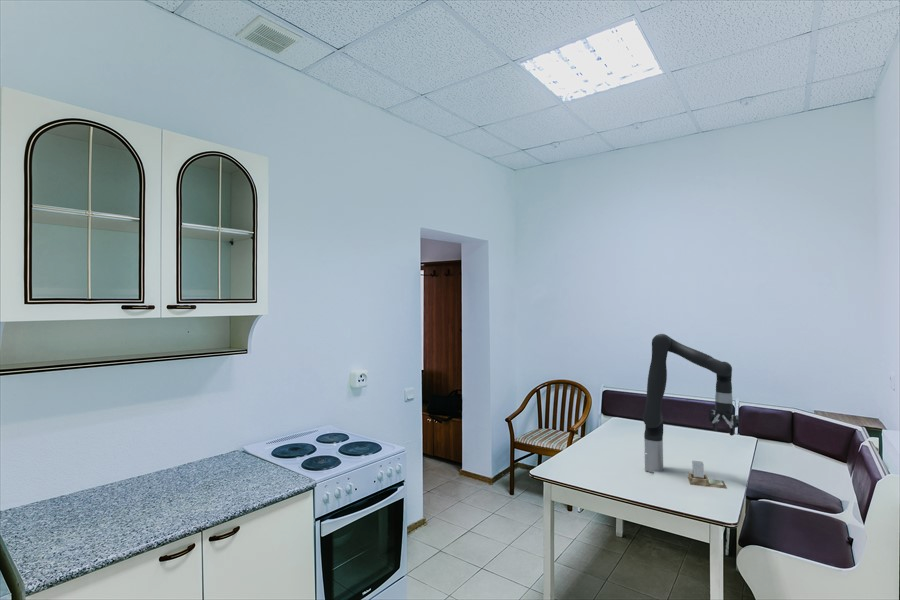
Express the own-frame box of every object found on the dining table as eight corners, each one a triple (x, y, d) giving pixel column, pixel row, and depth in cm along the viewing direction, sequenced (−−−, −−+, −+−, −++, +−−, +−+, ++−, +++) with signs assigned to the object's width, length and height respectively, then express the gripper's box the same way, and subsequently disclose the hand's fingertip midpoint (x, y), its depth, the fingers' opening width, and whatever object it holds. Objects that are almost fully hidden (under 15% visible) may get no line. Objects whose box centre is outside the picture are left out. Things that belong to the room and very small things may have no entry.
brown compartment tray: (690, 486, 222) (690, 478, 222) (687, 478, 232) (687, 470, 232) (727, 490, 216) (727, 482, 216) (723, 482, 226) (722, 474, 226)
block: (693, 483, 223) (693, 463, 223) (692, 480, 227) (692, 460, 227) (704, 484, 221) (703, 464, 221) (702, 481, 225) (702, 461, 225)
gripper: (705, 399, 233) (705, 430, 232) (732, 404, 220) (732, 437, 219) (715, 398, 236) (715, 428, 236) (742, 403, 223) (742, 436, 223)
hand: (723, 433), depth 228 cm, fingers open, 8 cm apart
